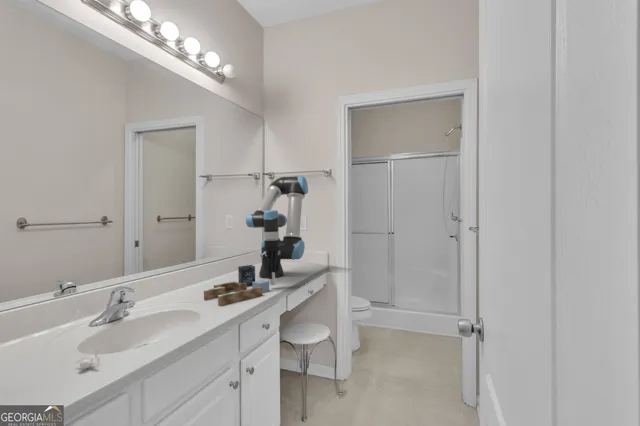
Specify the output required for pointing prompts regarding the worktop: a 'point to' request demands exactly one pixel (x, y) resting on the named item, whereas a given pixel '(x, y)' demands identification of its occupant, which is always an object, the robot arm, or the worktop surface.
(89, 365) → the dove figurine
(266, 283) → the block
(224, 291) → the wooden zigzag frame
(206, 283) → the worktop surface
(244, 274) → the box
